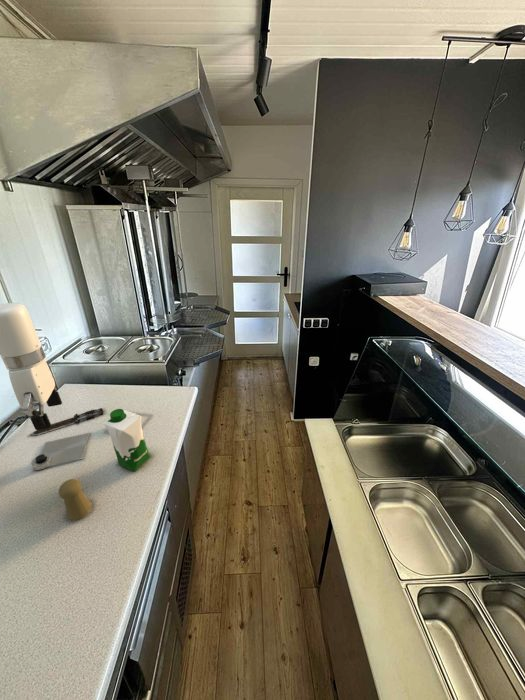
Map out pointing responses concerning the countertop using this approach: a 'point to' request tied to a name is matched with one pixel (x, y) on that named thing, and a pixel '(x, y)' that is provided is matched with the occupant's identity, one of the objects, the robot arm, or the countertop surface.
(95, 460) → the countertop surface
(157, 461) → the countertop surface
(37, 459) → the power button
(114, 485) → the countertop surface
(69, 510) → the cork
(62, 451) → the scale
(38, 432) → the knife
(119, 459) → the milk carton
